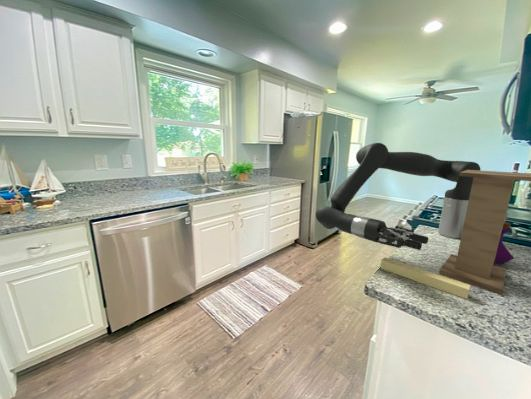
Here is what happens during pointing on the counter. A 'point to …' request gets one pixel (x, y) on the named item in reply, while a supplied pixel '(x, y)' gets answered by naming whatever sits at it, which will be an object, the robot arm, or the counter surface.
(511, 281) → the counter surface
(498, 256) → the perfume bottle
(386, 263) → the ochre bar
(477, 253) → the walnut stand
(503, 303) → the counter surface
